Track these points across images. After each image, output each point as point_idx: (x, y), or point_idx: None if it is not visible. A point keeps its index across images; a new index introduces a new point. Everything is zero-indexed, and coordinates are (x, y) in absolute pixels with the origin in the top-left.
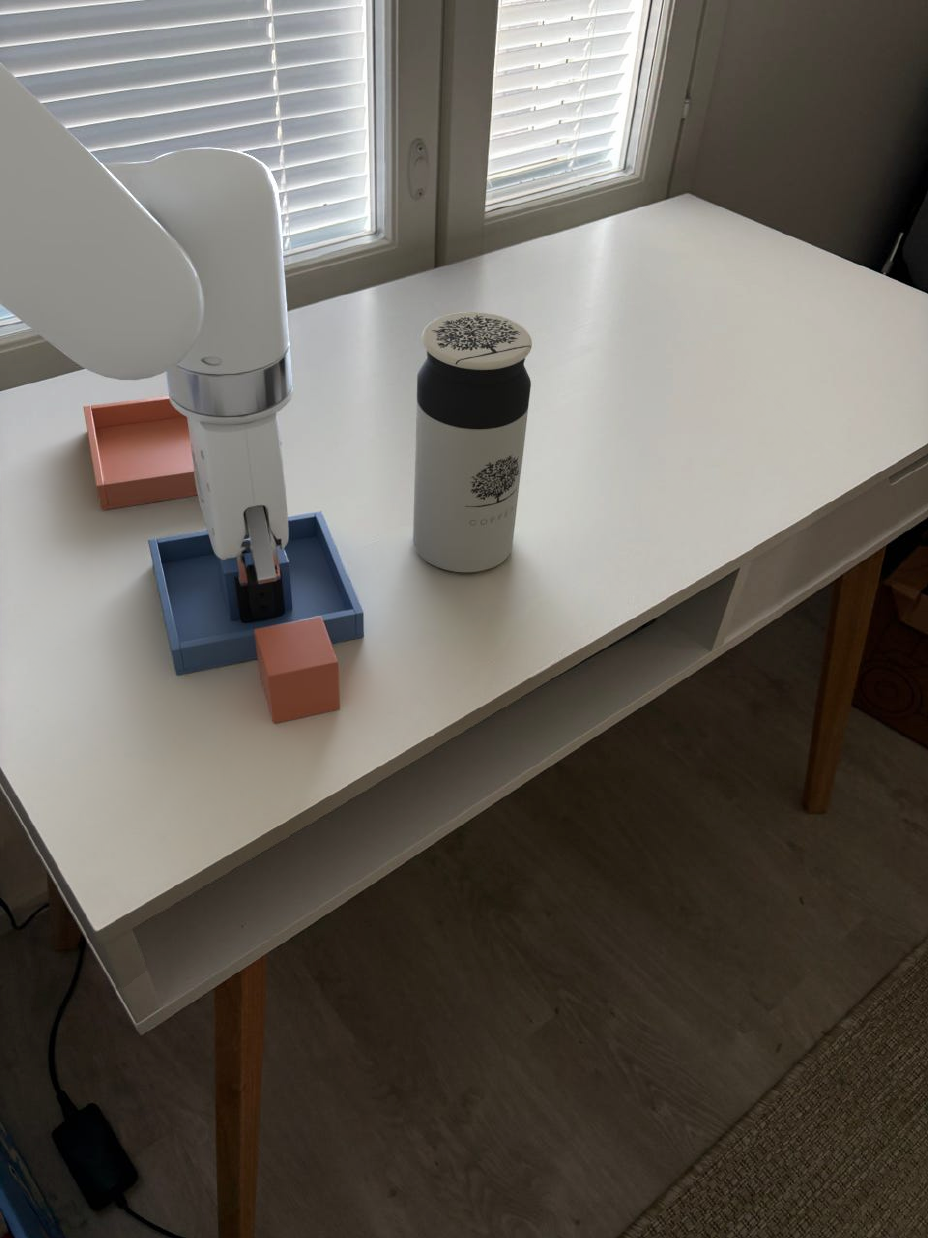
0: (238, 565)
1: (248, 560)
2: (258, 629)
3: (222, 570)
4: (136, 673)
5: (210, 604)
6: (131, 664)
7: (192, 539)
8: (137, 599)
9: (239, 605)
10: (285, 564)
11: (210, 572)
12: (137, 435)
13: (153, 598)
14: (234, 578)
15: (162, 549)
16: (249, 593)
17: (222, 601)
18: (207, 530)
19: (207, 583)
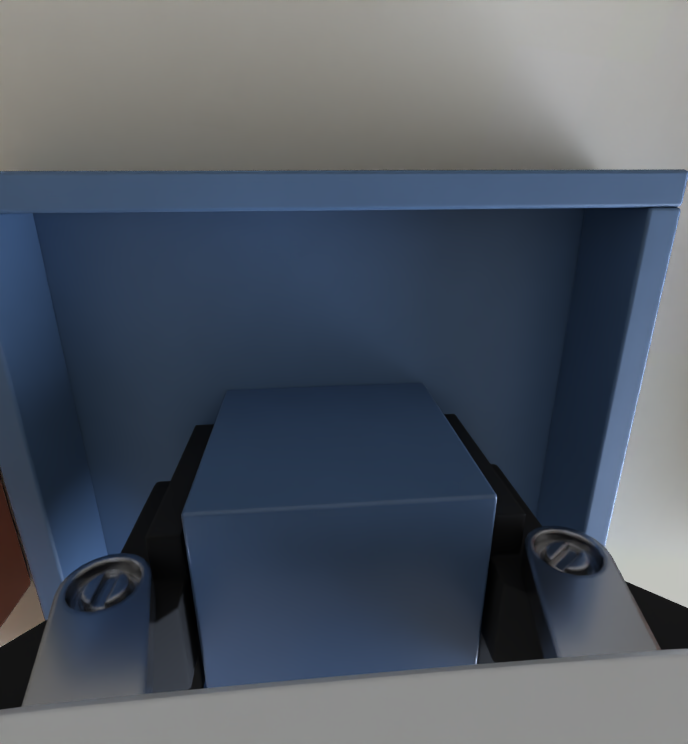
0: (31, 680)
1: (258, 612)
2: None
3: (252, 490)
4: (32, 25)
5: (322, 339)
6: (85, 11)
7: (612, 347)
8: (442, 89)
9: (178, 463)
10: None
11: (475, 360)
12: None
13: (429, 151)
14: (173, 534)
15: (621, 223)
16: (143, 541)
17: (327, 377)
18: (209, 704)
19: (426, 344)
